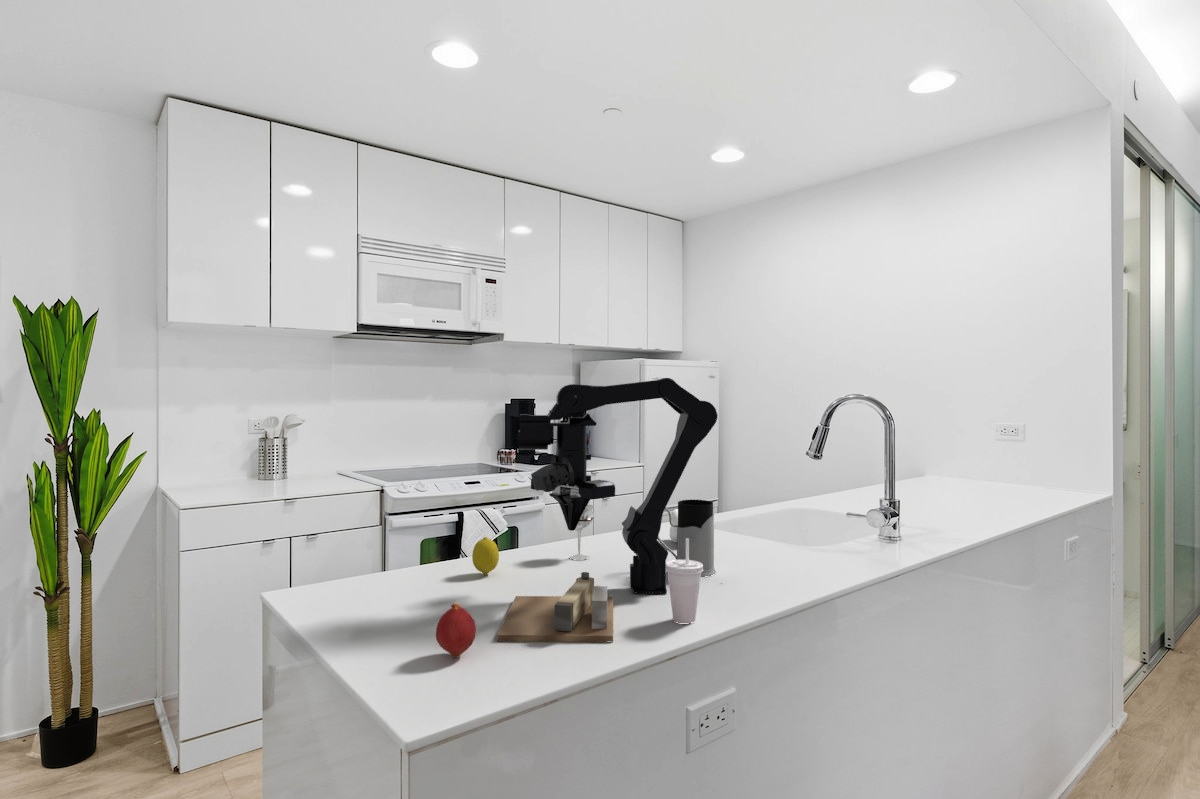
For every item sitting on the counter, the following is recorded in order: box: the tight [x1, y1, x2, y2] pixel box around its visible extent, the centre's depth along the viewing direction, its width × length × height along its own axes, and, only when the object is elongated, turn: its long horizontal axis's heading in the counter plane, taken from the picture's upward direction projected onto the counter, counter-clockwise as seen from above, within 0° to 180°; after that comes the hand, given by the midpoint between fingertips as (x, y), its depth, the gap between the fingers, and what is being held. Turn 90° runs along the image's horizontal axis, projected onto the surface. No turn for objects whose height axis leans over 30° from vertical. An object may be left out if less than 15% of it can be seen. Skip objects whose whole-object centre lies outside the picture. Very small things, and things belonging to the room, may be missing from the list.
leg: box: [555, 576, 595, 631], centre depth 115 cm, size 17×3×4 cm, turn 168°
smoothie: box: [665, 538, 703, 623], centre depth 115 cm, size 6×6×14 cm
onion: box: [435, 602, 477, 658], centre depth 100 cm, size 6×6×8 cm
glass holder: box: [657, 499, 717, 578], centre depth 147 cm, size 9×14×15 cm, turn 68°
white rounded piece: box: [669, 508, 716, 543], centre depth 173 cm, size 11×12×9 cm
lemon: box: [471, 536, 500, 576], centre depth 144 cm, size 6×6×8 cm
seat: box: [496, 571, 614, 643], centre depth 116 cm, size 18×20×6 cm
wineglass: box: [569, 503, 595, 561], centre depth 159 cm, size 7×7×12 cm
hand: (571, 530), depth 132 cm, fingers closed
